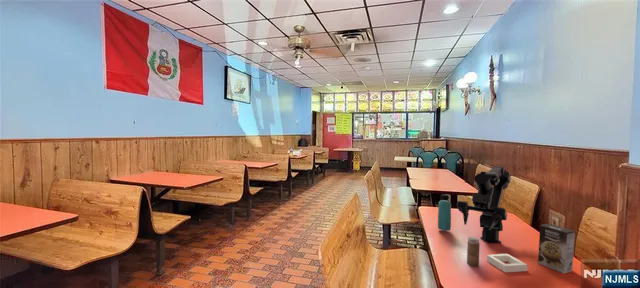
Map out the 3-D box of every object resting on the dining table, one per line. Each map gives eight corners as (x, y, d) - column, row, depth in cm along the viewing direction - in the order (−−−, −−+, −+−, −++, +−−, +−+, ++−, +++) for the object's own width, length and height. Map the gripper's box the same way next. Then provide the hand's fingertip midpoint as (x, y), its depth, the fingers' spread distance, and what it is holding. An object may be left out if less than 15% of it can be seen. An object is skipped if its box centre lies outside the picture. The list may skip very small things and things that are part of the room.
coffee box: (537, 263, 111) (538, 224, 110) (546, 260, 113) (548, 222, 112) (564, 274, 102) (566, 232, 102) (573, 270, 105) (575, 230, 104)
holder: (507, 259, 114) (507, 253, 114) (527, 271, 105) (527, 264, 104) (486, 260, 113) (486, 254, 113) (504, 272, 103) (505, 266, 103)
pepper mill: (474, 261, 112) (474, 236, 111) (481, 266, 108) (482, 240, 107) (464, 262, 111) (465, 237, 111) (471, 267, 107) (472, 241, 107)
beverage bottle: (452, 234, 142) (453, 196, 141) (438, 233, 143) (439, 195, 142) (448, 229, 148) (450, 193, 147) (436, 228, 150) (437, 193, 149)
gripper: (458, 183, 125) (449, 212, 118) (506, 189, 111) (499, 223, 104) (463, 196, 131) (455, 225, 124) (509, 203, 118) (503, 236, 111)
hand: (476, 227), depth 116 cm, fingers open, 9 cm apart
